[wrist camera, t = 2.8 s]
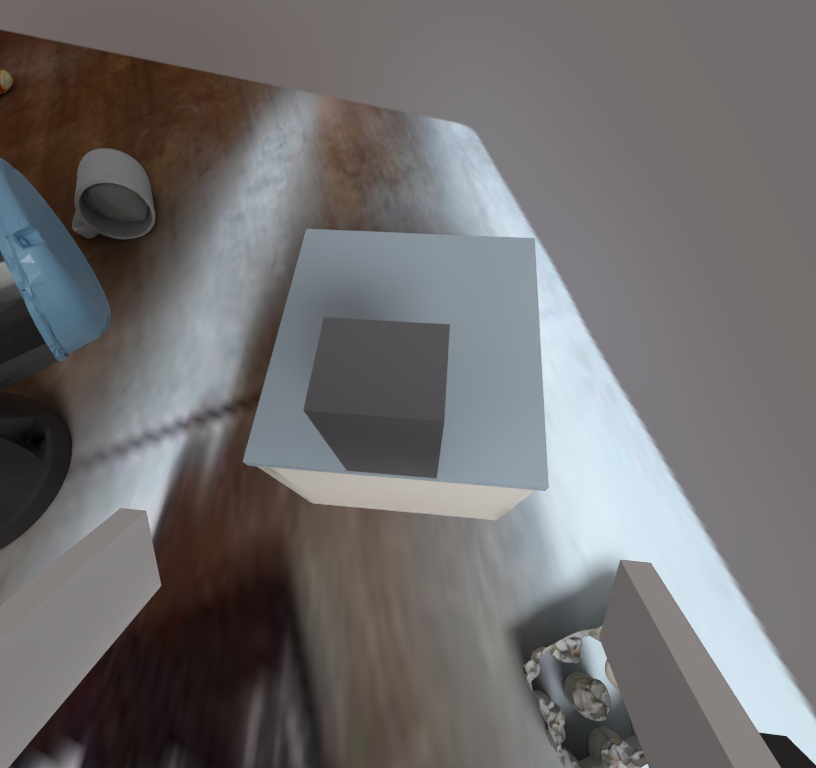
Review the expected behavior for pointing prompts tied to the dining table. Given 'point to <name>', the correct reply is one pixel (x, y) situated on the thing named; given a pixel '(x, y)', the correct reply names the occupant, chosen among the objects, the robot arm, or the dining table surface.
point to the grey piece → (584, 709)
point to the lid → (408, 361)
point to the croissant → (5, 81)
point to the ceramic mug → (112, 196)
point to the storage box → (400, 493)
